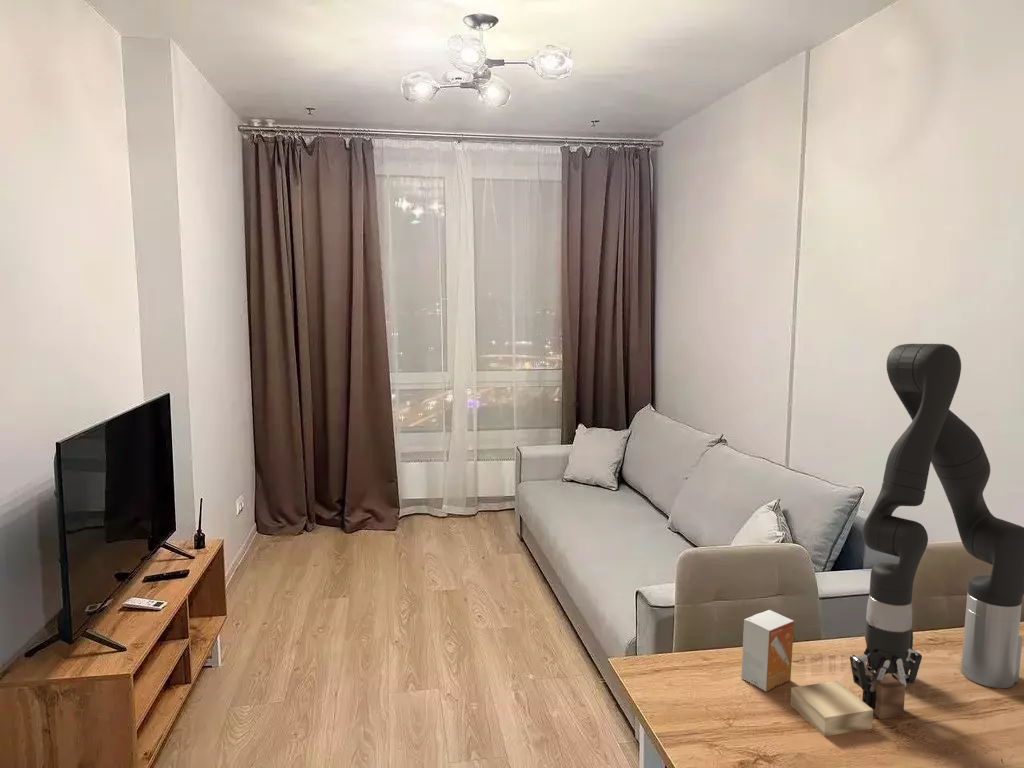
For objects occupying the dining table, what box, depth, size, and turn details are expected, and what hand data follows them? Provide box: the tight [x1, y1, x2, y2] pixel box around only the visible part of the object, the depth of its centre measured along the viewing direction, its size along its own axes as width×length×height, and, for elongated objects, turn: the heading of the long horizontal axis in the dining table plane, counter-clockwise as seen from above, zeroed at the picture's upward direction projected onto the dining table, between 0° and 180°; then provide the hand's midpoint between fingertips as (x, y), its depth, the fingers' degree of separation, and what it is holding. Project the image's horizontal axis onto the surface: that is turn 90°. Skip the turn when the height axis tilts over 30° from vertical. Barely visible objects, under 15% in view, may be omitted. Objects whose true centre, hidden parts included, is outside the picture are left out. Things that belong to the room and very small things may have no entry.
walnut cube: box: [861, 673, 907, 720], centre depth 138 cm, size 5×5×6 cm
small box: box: [740, 609, 795, 692], centre depth 148 cm, size 8×6×13 cm
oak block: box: [790, 680, 874, 737], centre depth 136 cm, size 10×10×4 cm
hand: (882, 704), depth 138 cm, fingers closed on walnut cube, 5 cm apart
